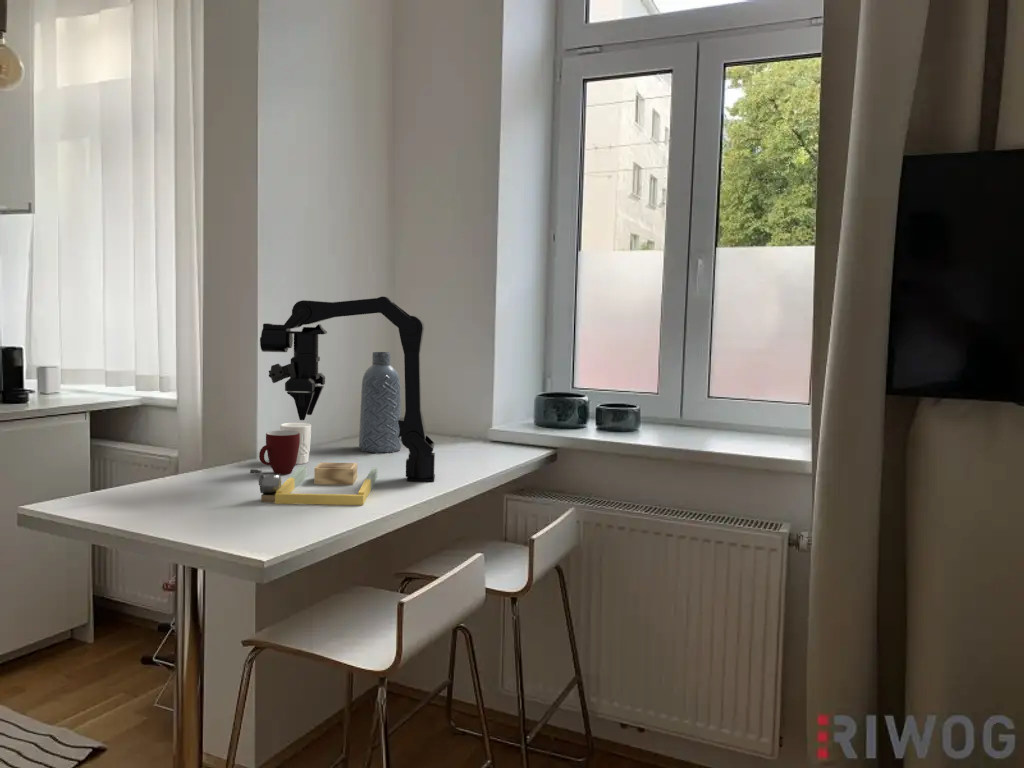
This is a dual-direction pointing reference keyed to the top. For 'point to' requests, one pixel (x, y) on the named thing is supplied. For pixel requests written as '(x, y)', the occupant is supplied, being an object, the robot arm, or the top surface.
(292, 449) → the mug
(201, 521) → the top surface
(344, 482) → the box
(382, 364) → the vase
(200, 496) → the top surface
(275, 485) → the winch
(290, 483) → the bay
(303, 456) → the white cup
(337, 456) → the top surface
